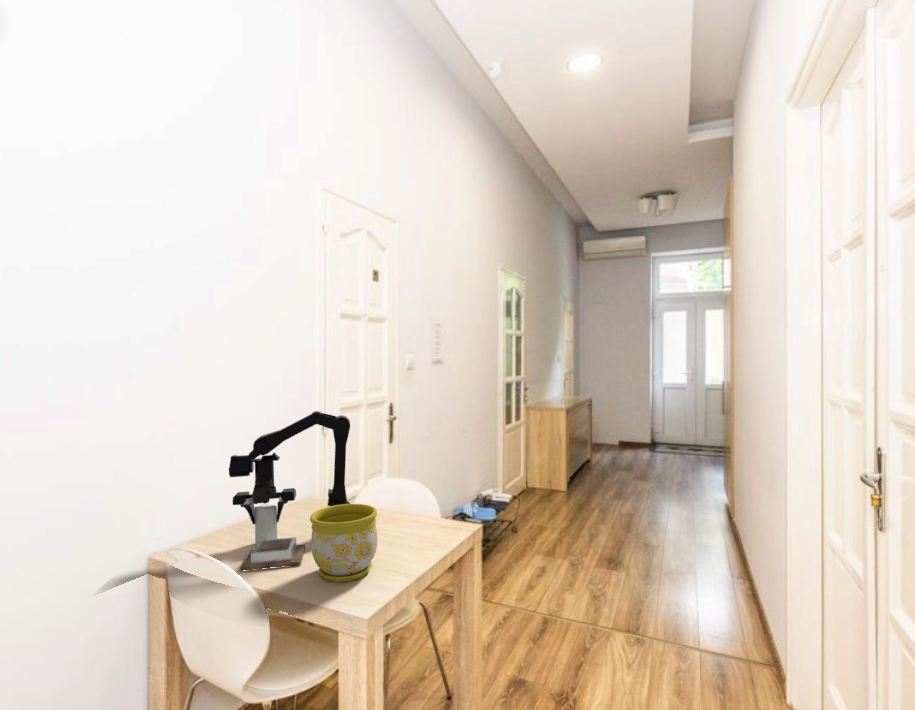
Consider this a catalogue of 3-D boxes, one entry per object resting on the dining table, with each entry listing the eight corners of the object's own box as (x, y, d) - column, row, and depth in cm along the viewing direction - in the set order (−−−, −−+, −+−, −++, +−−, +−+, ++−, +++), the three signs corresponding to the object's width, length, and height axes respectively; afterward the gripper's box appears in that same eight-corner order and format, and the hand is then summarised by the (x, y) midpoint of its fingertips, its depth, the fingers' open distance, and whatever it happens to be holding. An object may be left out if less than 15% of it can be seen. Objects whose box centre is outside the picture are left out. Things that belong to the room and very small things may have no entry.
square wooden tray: (305, 548, 159) (305, 544, 159) (300, 565, 145) (299, 561, 145) (251, 553, 156) (251, 549, 156) (240, 571, 142) (240, 567, 142)
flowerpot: (348, 592, 128) (346, 527, 128) (297, 579, 136) (295, 518, 136) (391, 565, 143) (390, 507, 143) (343, 555, 152) (341, 500, 152)
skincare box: (278, 542, 165) (277, 505, 165) (267, 546, 161) (266, 509, 161) (265, 539, 168) (264, 503, 168) (254, 543, 164) (253, 506, 164)
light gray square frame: (296, 546, 157) (296, 537, 157) (291, 560, 146) (291, 550, 146) (258, 550, 155) (258, 540, 155) (251, 564, 144) (250, 553, 144)
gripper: (227, 482, 155) (228, 534, 155) (291, 478, 158) (292, 528, 158) (236, 474, 166) (237, 522, 166) (295, 470, 169) (297, 517, 169)
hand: (265, 523), depth 165 cm, fingers closed on skincare box, 7 cm apart
